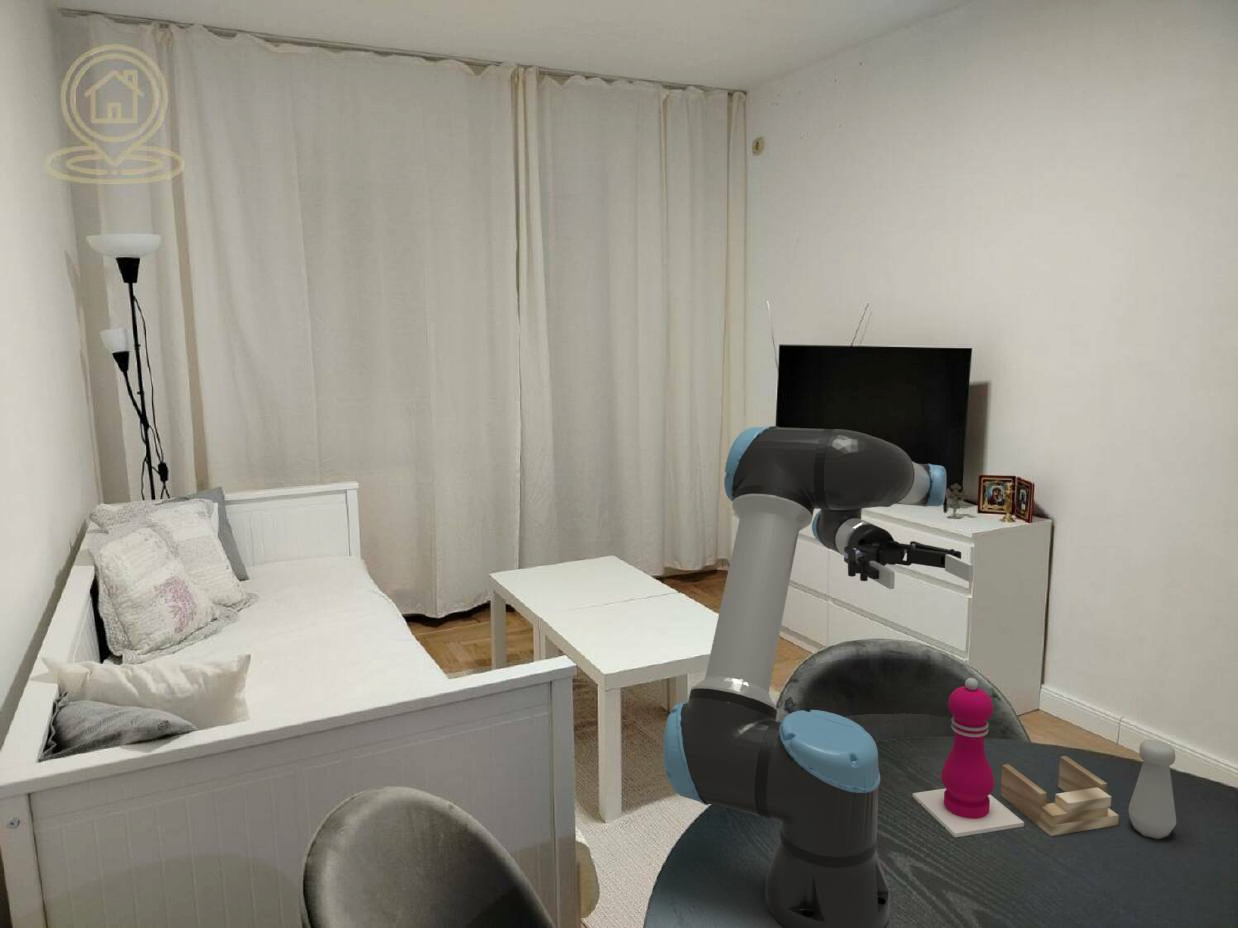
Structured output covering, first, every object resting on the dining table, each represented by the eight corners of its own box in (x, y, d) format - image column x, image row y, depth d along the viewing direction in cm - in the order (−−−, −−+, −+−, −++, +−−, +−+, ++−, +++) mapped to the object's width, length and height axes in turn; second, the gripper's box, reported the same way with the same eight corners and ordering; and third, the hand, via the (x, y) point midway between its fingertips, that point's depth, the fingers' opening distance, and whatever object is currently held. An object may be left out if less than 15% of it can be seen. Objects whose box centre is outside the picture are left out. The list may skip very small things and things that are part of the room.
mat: (954, 837, 124) (955, 833, 123) (912, 796, 134) (912, 793, 134) (1024, 826, 126) (1024, 822, 126) (977, 787, 137) (977, 783, 136)
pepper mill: (984, 794, 133) (989, 668, 130) (999, 821, 126) (1006, 689, 123) (934, 793, 134) (939, 668, 131) (947, 819, 127) (952, 688, 124)
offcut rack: (1050, 835, 123) (1052, 802, 123) (1000, 795, 134) (1002, 764, 133) (1118, 824, 126) (1120, 792, 125) (1063, 785, 136) (1065, 755, 136)
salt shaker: (1139, 814, 128) (1146, 730, 126) (1182, 832, 124) (1190, 745, 122) (1119, 828, 125) (1125, 742, 123) (1162, 847, 120) (1170, 758, 118)
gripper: (927, 558, 161) (1001, 593, 141) (800, 569, 156) (857, 607, 135) (929, 518, 160) (1004, 547, 139) (800, 528, 155) (859, 559, 134)
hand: (932, 576), depth 137 cm, fingers open, 13 cm apart
